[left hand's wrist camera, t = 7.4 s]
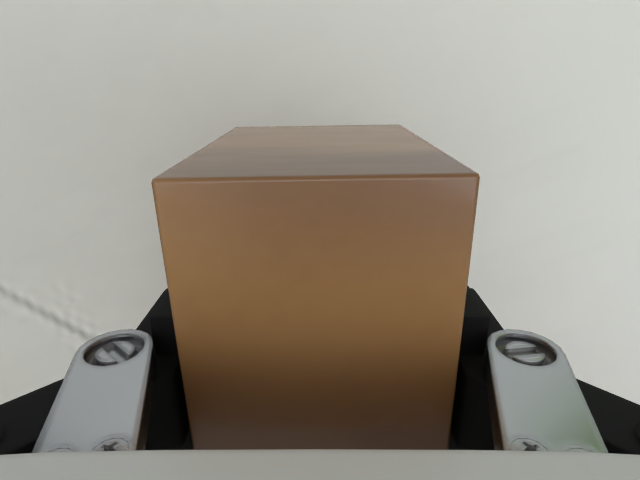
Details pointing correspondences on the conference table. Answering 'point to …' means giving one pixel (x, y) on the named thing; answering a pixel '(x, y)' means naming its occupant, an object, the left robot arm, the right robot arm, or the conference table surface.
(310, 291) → the bar
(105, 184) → the conference table surface
